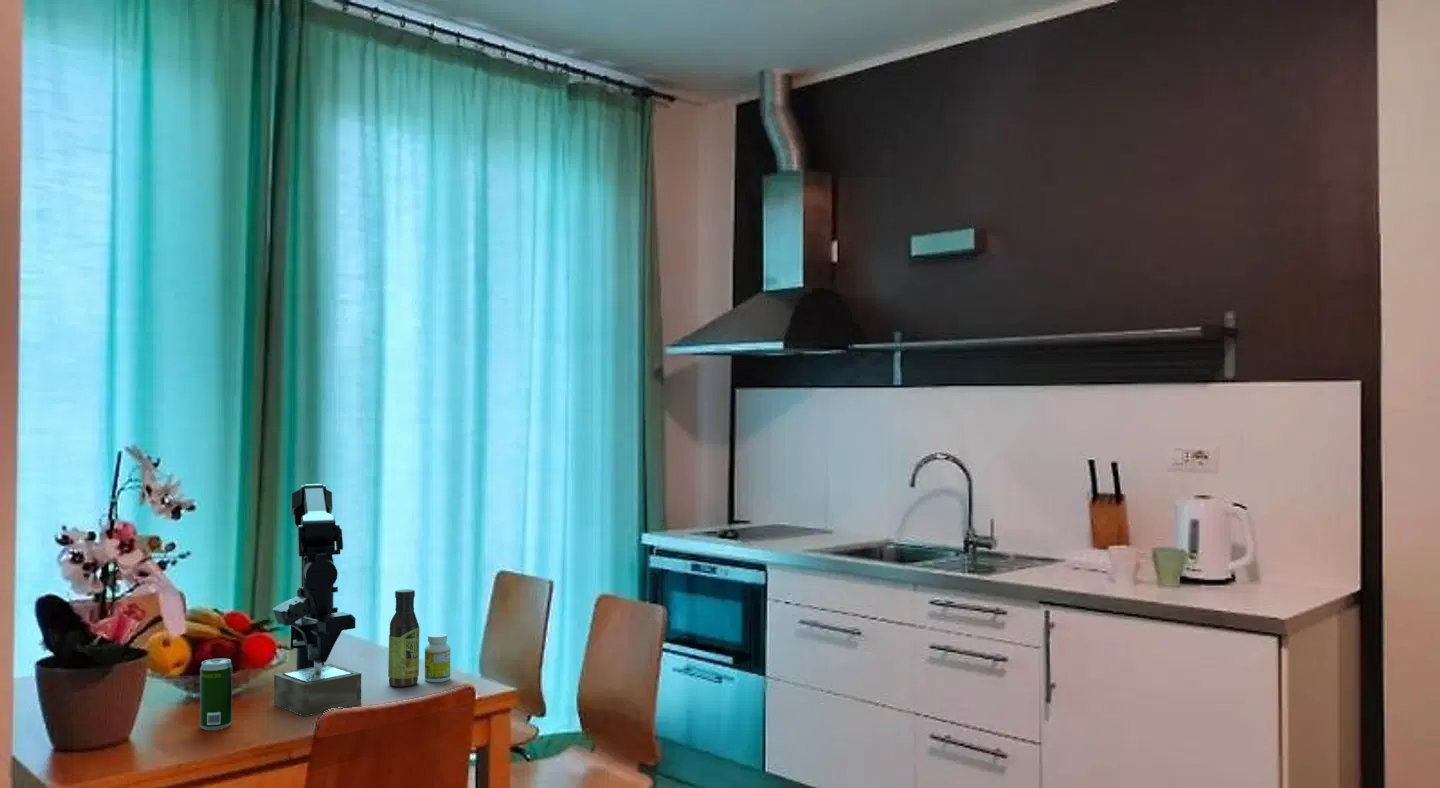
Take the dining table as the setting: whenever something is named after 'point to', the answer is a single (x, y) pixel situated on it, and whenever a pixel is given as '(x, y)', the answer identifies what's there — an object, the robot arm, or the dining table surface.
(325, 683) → the frame
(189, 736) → the dining table surface
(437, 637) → the supplement bottle
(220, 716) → the beer can
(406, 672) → the sauce bottle
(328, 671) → the plunger
